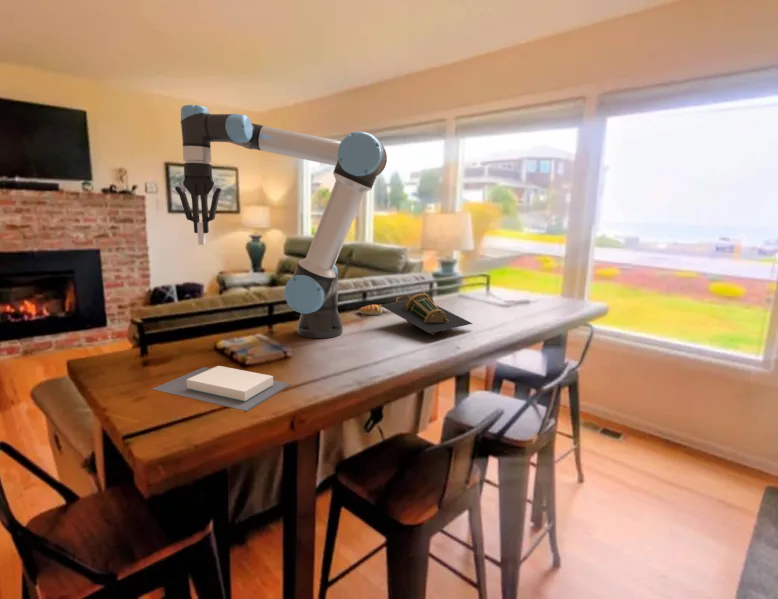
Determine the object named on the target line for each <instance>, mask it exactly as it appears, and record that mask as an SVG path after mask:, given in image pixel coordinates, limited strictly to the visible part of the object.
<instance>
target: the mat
mask: <svg viewBox="0 0 778 599" xmlns="http://www.w3.org/2000/svg"><path fill="white" fill-rule="evenodd" d="M212 368H213V367H212ZM212 368H211V367H208V366H207V367H206V366H203V367H201V368H199V369H196V370H194V371H191V372H190V373H187V374H184V375H182V376H179V377H177V378H174V379H172V380H170V381H168V382H165V383H163V384H160V385H158V386H156V387H153V388H152V390H153V391H158V392H163V393H167V394H169V395H170V394H171V395H174V396H175V395H176V396H180V397H185V398H189V399H193V400H196V401H197V400H198V401H202V402H206V403H211V404H214V405H219V406H224V407H228V408H233V409H236V410H241V411H243V413H247V412H249V411H251V410H253V408H256V407H257V406H259V405H261V404H263V403H264V402H266V401H267V400H269V399H271V398H272V397H274V396H275V395H277V394H278V393H280V392H281V391H283V390H285V389H287V388H288V387H289V386H291V383H288V382H283V381H280V380H279V381H278V380H274V379H273V385H272V386H271V387H270V388H268V389H266V390H265V391H263V392H261V393H259V394H258V395H256V396H254V397H252V398H251V399H249V400H247V401H246V402H243V401H238V400H234V399H229V398H225V397H220V396H216V395H211V394H207V393H202V392H198V391H193V390H189V389H188V388H187V379H189V378H191V377H193V376H196V375H198V374H200V373H203V372H205V371H207V370H210V369H212Z"/></svg>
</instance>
